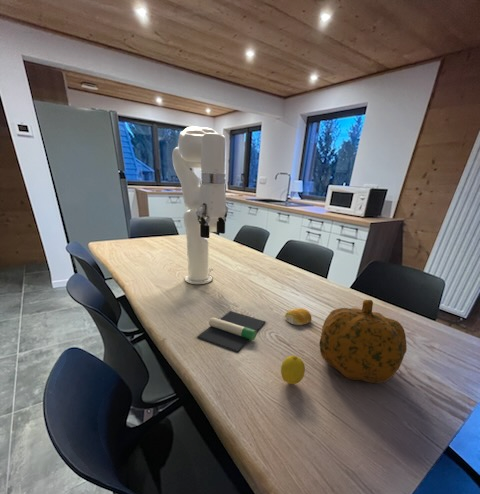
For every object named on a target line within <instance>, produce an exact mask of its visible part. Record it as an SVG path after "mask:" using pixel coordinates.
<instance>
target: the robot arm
mask: <svg viewBox="0 0 480 494" xmlns="http://www.w3.org/2000/svg"><path fill="white" fill-rule="evenodd" d="M177 139H178V140H177V146H176V147H175V148H173V150H172V153H171V157H172V158H171V159H172V165H173V169H174V172H175V175H176V176H177V178H178V180H179V182H180V187H181V192H182V198H183V203H184V206H185V208H186V209H187V210H186V211H184V214H183V223H184V224H183V225H184V229H185V236H186V255H187V256H186V257H187V274H186V275H185V276H184V281H185V282H186V283H188V284H192V285H205V284H209V283H210V282H212V281H213V277H212V275H210V273H212V272H214V268H213V267H212V266H211V267H209V265H210V263H209V260H210V259H209V256H210V255H209V253H210V252H209V249H210V248H209V247H210V246H209V240H208V239H209V238H210V233H217V234H222V235H224V234H225V233H226V222H227V217H228V211H229V207H228V206H227V195H226V193H227V192H226V177H227V176H226V172H227V171H226V170H227V138H226V136H225V135H224V134H222V133H218V132H217V131H216V129H213V128H210V127H203V126H202V127H201V126H192V125H191V126H188V127H186V128H184V129H183V130H182V131H180V133H179V135H178V138H177ZM191 169H195V170H200V171H201V173H200V174H201V175H200V177H201V178H199V177H198V175H197V174H196V173H195V172H194V171H193V170H191ZM200 179H201V181H200Z"/></svg>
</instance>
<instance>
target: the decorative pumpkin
mask: <svg viewBox="0 0 480 494" xmlns="http://www.w3.org/2000/svg"><path fill="white" fill-rule="evenodd" d="M373 306H374V301H373V300H372V299H364V300H363V301H362V307H361V308H357V307H356V308H354V307H350V308H348V307H339V308H336V309H333V310H331V311H330V313H329V314H328V315H327V317H326V318H325V320H324V321H323V324H322V327H321V335H320V338H319V343H318V344H319V352H320V355H321V357H322V359H323V360H324V361H325V362H326V363H328V364H329V365H330V366H331V367H333V368H334V369H335V370H337V371H339V372H340V374H342V375H343V376H344V377H345V378H347V379H349V380H352V381H353V380H354V381H356V380H357V381H364V382H367V383H371V384H380V383H384V382H387V381H388V380H390V379H391V378H392V377H393V376H394V375H395V374H396V373H397V371H398V370H399V369H400V368H401V365H402V362H403V360H404V357H405V354H406V352H407V347H408V346H407V336H406V332H405V329H404V327H403V325H402V324H401V323H400V322H399V321H398V320H395V319H392V318H389V317H386V316H384V315H383V314H381V313H379V312H375V311H373Z"/></svg>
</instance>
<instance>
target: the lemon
mask: <svg viewBox="0 0 480 494" xmlns="http://www.w3.org/2000/svg"><path fill="white" fill-rule="evenodd" d="M281 363H282V364H281V366H280V375H281V378H282V379H283V381H284V382H286V383H287V384H289V385H296V384H298V383H299V384H300V382H301V381H302V380H303V379H304V376H305V372H306V368H305V363H304V361H303V360H302V358H301V357H299V356H297V355H289V356H286V357H285V358H284V360H283V361H282V362H281Z"/></svg>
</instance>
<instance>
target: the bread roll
mask: <svg viewBox="0 0 480 494" xmlns="http://www.w3.org/2000/svg"><path fill="white" fill-rule="evenodd" d="M284 318H285V320H286V321H287V322H288V323H289V324H292V325H294V326H303V325H306V324H309V323H311V322H312V314H311V312H310V311H308V310H307V309H305V308H295V309H290V310H288V311H286V312H285V314H284Z"/></svg>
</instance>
